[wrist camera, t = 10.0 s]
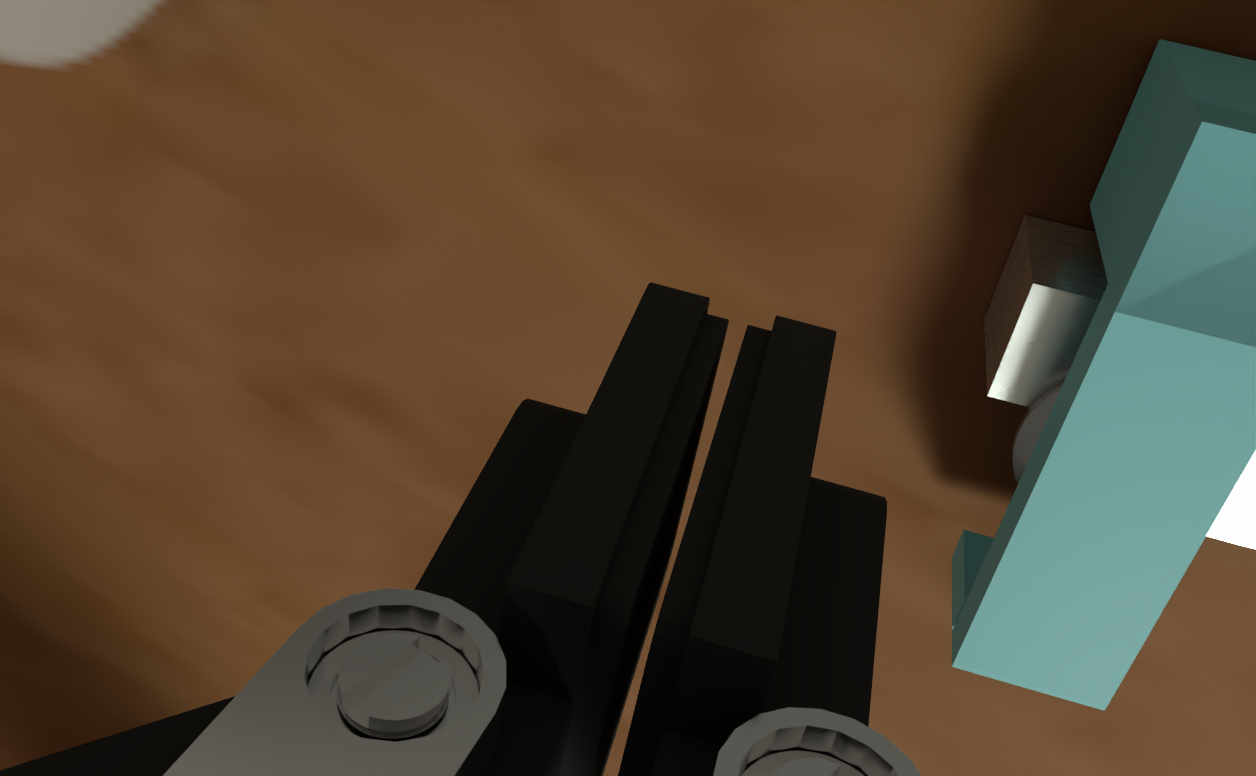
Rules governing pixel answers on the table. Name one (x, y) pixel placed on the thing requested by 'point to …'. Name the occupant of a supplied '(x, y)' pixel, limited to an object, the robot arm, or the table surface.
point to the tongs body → (1041, 322)
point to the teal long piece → (1133, 400)
